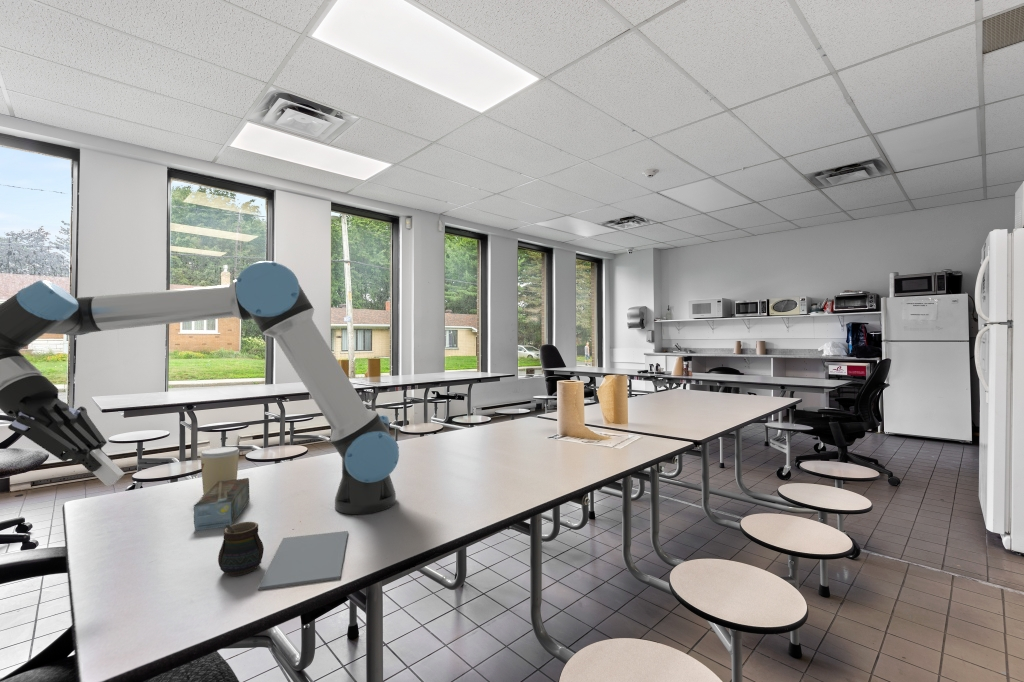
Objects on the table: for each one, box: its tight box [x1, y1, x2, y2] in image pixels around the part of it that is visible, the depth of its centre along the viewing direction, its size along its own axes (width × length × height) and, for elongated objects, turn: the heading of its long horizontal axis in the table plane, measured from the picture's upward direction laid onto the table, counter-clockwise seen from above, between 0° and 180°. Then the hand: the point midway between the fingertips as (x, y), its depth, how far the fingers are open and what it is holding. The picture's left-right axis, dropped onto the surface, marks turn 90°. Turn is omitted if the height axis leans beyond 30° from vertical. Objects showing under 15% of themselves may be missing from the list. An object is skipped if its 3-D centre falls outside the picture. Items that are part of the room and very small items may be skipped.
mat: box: [257, 530, 349, 591], centre depth 88 cm, size 13×20×1 cm, turn 16°
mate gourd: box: [217, 521, 265, 577], centre depth 84 cm, size 7×8×10 cm
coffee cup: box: [199, 446, 240, 497], centre depth 128 cm, size 9×9×12 cm
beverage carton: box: [193, 477, 250, 531], centre depth 112 cm, size 8×19×7 cm, turn 19°
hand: (116, 479), depth 82 cm, fingers closed
